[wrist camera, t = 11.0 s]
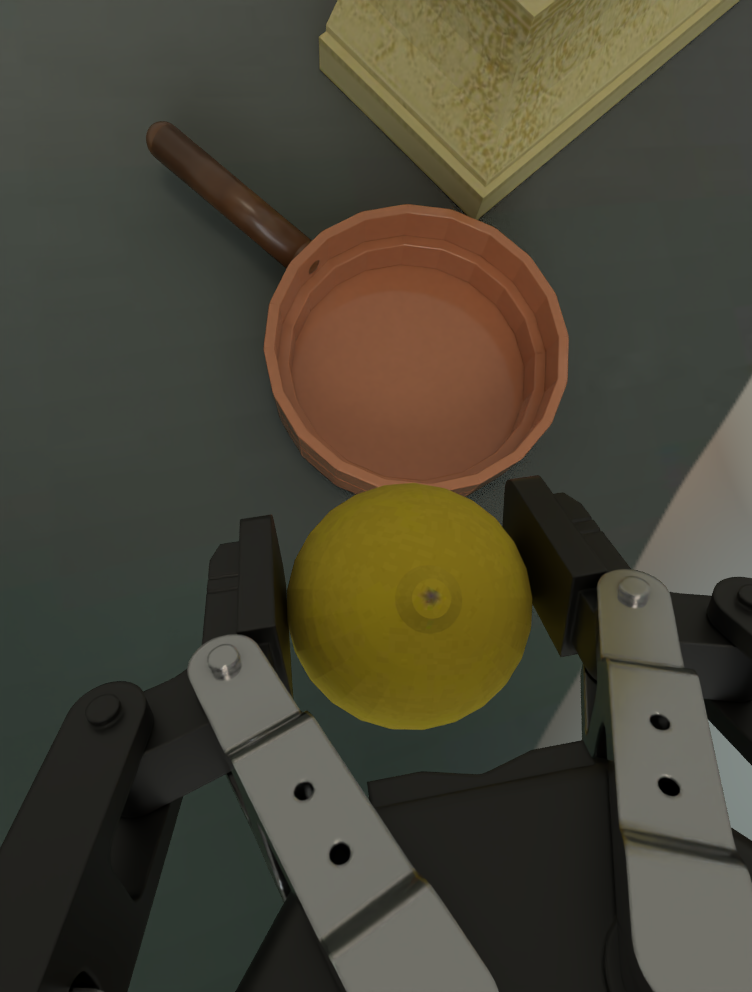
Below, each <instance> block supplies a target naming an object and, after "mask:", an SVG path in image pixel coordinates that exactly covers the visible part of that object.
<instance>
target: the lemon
mask: <svg viewBox="0 0 752 992" xmlns="http://www.w3.org/2000/svg"><path fill="white" fill-rule="evenodd" d="M531 617H532V593H531V588H530V583H529V578H528V573H527V569H526V567H525V564H524V562H523V560H522V558H521V556H520V553H519V551H518V549H517V547H516V545H515V543H514V541H513V540H512V539H511V537H510V536H509V535H508V534H507V532H506V531H505V530H504V529H503V527H502V526H501V525H500V524H499V522H498V521H497V520H496V518H494V517H493V516H492V515H490V514H489V513H488V512H487V511H485V510H484V509H483V508H481V507H480V506H479V505H477V504H476V503H475V502H474V501H472V500H470V499H468V498H466V497H464V496H461V495H459V494H457V493H455V492H452V491H450V490H448V489H446V488H441V487H435V486H430V485H424V484H418V483H406V484H393V485H384V486H381V487H378V488H375V489H372V490H369V491H366V492H363V493H360V494H357V495H355V496H353V497H351V498H350V499H348V500H347V501H345V502H344V503H342V504H340V505H339V506H337V507H336V508H334V509H333V510H331V511H330V512H329V513H328V514H327V515H326V516H325V517H324V518H323V520H322V521H321V522H320V523H319V524H318V525H317V526H316V527H315V528H314V529H313V530H312V531H311V533H310V534H309V535H308V537H307V539H306V541H305V543H304V544H303V546H302V548H301V550H300V552H299V554H298V555H297V557H296V559H295V561H294V565H293V569H292V573H291V577H290V581H289V585H288V589H287V621H288V626H289V630H290V634H291V638H292V642H293V646H294V650H295V653H296V654H297V656H298V658H299V660H300V662H301V664H302V666H303V667H304V669H305V671H306V673H307V675H308V677H309V678H310V680H311V681H312V682H313V683H314V684H315V685H316V686H317V687H318V688H319V689H320V690H321V691H322V692H323V694H324V695H325V696H326V697H327V698H328V699H329V700H330V701H331V702H332V703H334V704H335V705H337V706H339V707H340V708H342V709H344V710H345V711H347V712H348V713H350V714H352V715H353V716H355V717H356V718H358V719H360V720H363V721H366V722H369V723H373V724H376V725H379V726H382V727H386V728H389V729H413V730H424V729H428V728H432V727H437V726H441V725H445V724H449V723H453V722H456V721H457V720H459V719H461V718H463V717H465V716H466V715H468V714H470V713H472V712H474V711H476V710H477V709H479V708H481V707H483V706H484V705H485V704H486V703H487V702H488V701H489V700H490V699H491V698H492V697H493V696H494V695H495V694H497V693H498V692H499V691H500V690H501V689H502V688H503V687H504V686H505V685H506V683H507V682H508V680H509V678H510V677H511V675H512V673H513V672H514V670H515V668H516V667H517V665H518V664H519V662H520V660H521V659H522V656H523V652H524V649H525V646H526V643H527V639H528V636H529V633H530V630H531Z"/></svg>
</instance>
